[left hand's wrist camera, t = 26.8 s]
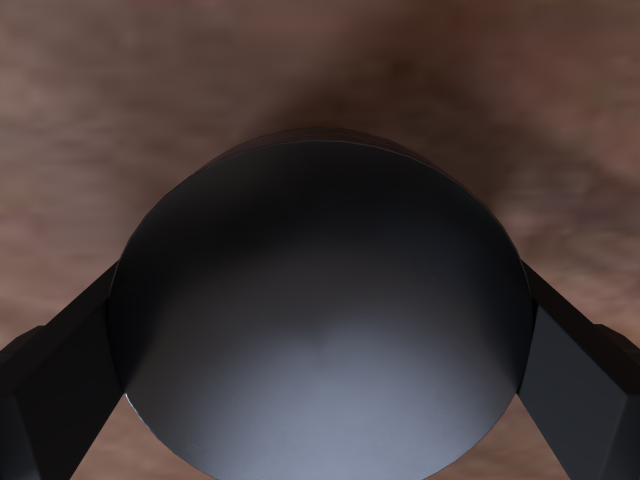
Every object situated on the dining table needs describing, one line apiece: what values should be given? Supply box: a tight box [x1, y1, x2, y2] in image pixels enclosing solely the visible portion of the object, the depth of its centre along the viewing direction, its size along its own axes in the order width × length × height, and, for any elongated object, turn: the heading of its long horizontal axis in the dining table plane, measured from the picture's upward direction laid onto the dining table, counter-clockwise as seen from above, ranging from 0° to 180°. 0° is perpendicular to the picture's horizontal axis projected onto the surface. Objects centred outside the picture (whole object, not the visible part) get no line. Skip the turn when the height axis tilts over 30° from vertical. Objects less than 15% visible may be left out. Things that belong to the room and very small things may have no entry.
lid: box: [107, 127, 533, 480], centre depth 11 cm, size 10×10×2 cm
